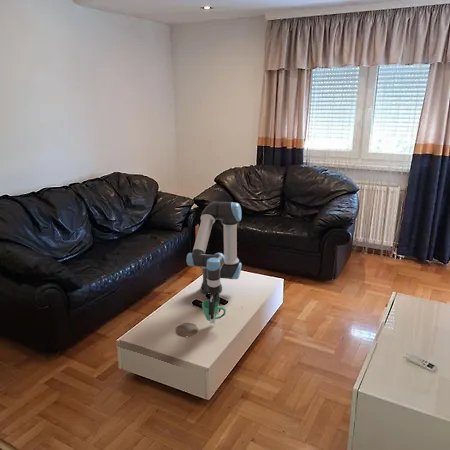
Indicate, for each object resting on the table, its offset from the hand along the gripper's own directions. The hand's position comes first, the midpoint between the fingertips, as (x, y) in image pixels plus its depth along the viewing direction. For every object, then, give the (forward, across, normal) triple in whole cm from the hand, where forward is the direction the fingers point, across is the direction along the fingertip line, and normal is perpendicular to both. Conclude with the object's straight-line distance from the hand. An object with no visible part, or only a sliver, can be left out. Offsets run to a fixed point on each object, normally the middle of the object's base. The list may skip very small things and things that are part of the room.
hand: (214, 318), depth 234 cm
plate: (+5, +8, -15) cm, 18 cm away
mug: (+1, 0, 0) cm, 1 cm away
